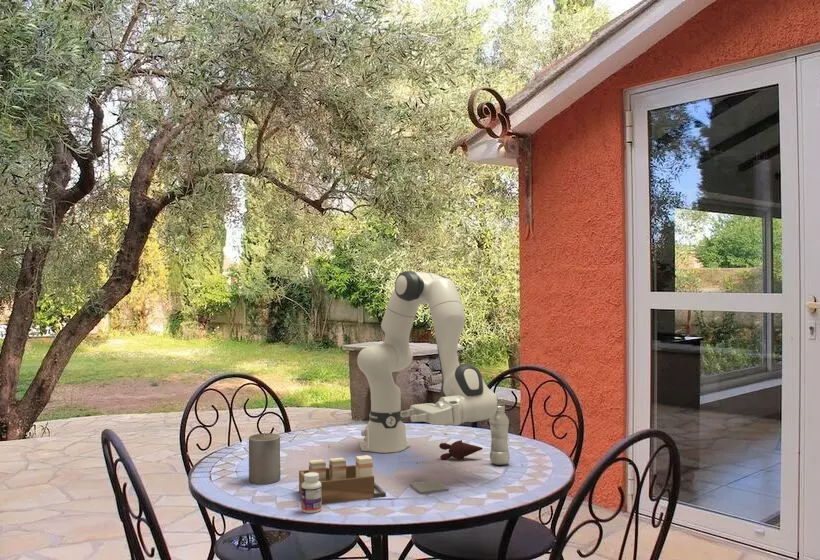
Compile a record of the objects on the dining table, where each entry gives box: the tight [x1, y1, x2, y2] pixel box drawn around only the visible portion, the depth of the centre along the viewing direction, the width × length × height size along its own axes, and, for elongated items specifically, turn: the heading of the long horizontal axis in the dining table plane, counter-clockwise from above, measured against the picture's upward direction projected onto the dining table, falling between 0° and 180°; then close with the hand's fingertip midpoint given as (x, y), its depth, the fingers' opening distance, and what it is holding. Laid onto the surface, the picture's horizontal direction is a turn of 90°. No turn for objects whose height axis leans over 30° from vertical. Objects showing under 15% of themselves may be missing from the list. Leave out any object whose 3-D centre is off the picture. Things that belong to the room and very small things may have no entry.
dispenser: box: [298, 457, 387, 505], centre depth 198 cm, size 14×22×10 cm, turn 110°
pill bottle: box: [300, 472, 323, 514], centre depth 183 cm, size 5×5×10 cm
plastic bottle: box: [488, 404, 511, 466], centre depth 229 cm, size 6×7×20 cm
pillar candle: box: [248, 432, 281, 486], centre depth 212 cm, size 10×10×15 cm
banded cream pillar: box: [355, 454, 374, 478], centre depth 200 cm, size 4×4×10 cm
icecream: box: [438, 439, 483, 461], centre depth 236 cm, size 7×7×15 cm
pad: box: [409, 480, 450, 495], centre depth 203 cm, size 9×9×1 cm
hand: (406, 416), depth 205 cm, fingers open, 8 cm apart
